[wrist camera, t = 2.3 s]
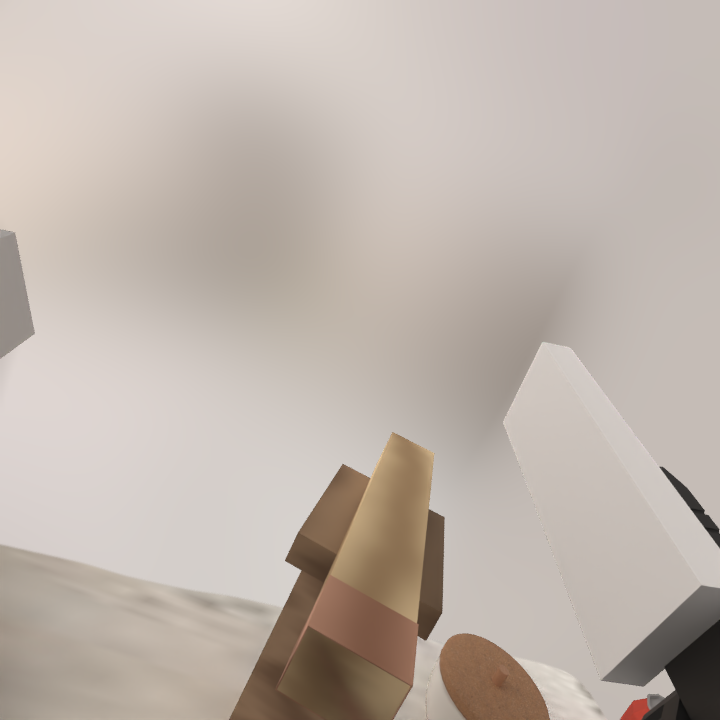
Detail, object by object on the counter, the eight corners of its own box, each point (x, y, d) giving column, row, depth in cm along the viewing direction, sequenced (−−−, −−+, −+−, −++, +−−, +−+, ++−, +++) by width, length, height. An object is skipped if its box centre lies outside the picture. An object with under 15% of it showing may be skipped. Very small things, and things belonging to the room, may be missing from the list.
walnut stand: (169, 804, 30) (298, 532, 26) (243, 671, 41) (342, 463, 36) (286, 881, 29) (442, 612, 24) (330, 724, 40) (444, 517, 35)
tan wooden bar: (275, 689, 16) (308, 625, 16) (377, 461, 40) (392, 431, 39) (374, 750, 16) (412, 686, 15) (419, 482, 39) (434, 453, 39)
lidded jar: (491, 706, 49) (533, 641, 47) (526, 827, 39) (581, 750, 37) (403, 673, 48) (442, 605, 46) (414, 787, 38) (465, 706, 36)
